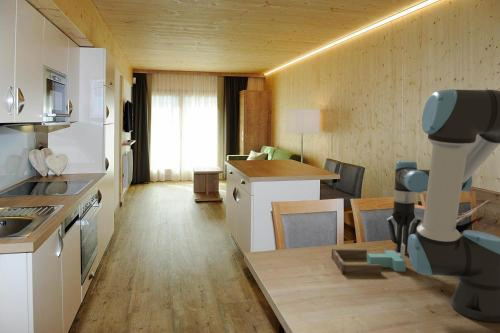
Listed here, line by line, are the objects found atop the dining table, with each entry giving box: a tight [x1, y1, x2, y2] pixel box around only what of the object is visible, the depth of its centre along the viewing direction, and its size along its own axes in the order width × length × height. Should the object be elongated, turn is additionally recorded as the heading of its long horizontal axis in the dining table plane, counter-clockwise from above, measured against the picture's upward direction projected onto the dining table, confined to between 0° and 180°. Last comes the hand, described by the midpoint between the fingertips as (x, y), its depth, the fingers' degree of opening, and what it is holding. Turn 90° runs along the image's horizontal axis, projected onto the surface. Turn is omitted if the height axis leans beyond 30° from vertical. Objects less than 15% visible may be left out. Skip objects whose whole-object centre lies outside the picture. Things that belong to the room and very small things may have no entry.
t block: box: [366, 249, 407, 272], centre depth 151 cm, size 12×12×4 cm
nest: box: [331, 248, 383, 276], centre depth 151 cm, size 18×14×4 cm
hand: (401, 260), depth 151 cm, fingers closed
